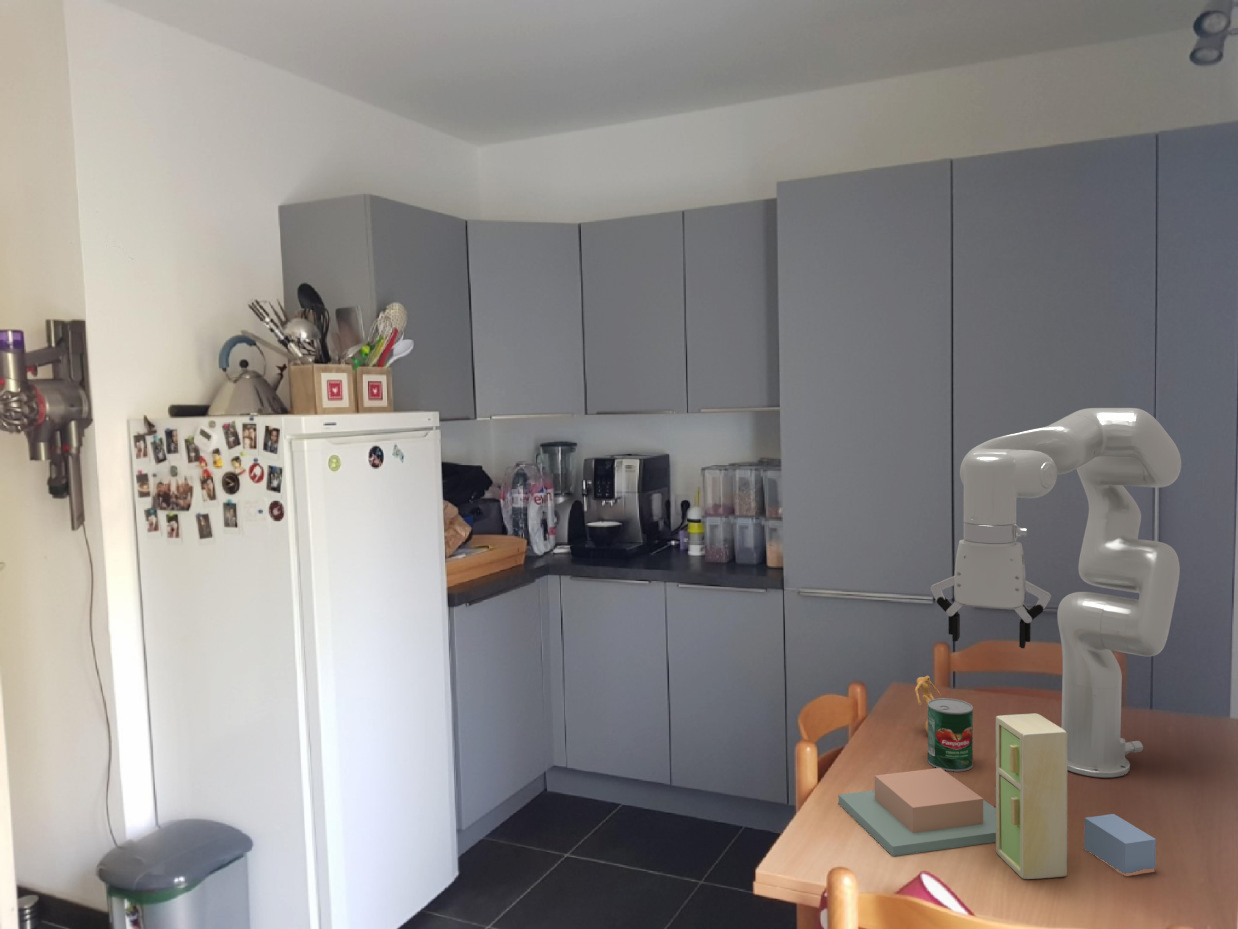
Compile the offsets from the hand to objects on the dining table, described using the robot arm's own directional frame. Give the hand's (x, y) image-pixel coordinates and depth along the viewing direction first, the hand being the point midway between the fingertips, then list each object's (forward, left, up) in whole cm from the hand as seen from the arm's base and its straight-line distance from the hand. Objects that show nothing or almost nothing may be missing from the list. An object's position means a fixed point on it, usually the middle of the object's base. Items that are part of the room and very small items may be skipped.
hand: (988, 642), depth 140 cm
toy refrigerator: (+2, +12, -30) cm, 32 cm away
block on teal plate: (+8, -4, -29) cm, 31 cm away
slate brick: (-12, +14, -30) cm, 35 cm away
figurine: (-12, -36, -30) cm, 48 cm away
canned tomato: (-8, -23, -30) cm, 38 cm away
